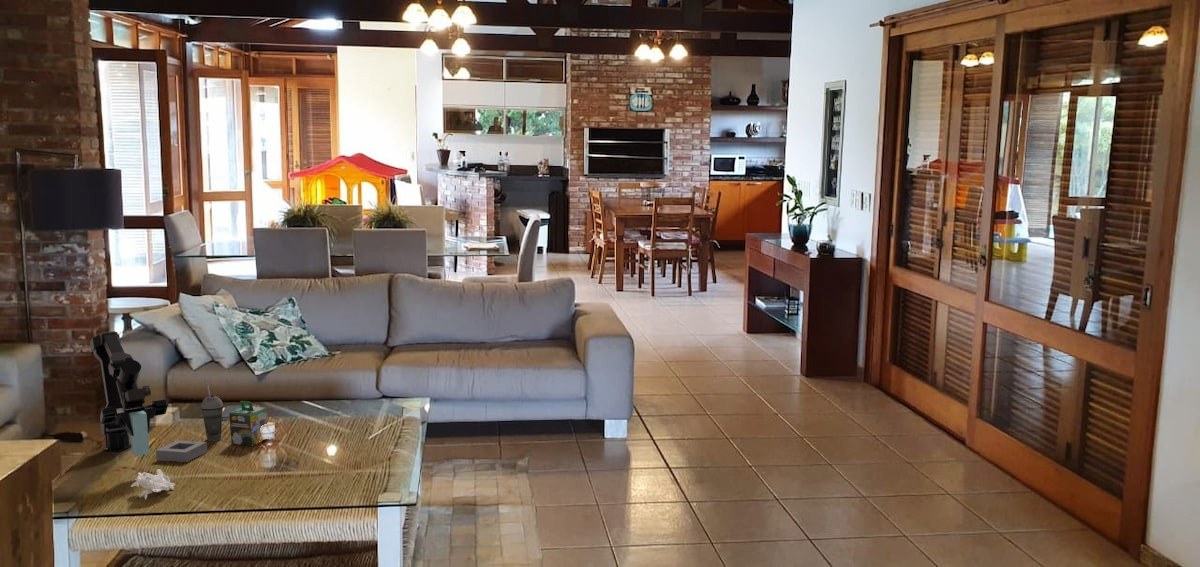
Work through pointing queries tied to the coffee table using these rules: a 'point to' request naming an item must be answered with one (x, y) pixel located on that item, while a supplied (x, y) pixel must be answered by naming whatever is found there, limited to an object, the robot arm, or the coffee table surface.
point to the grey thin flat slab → (232, 408)
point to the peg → (139, 433)
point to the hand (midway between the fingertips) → (140, 434)
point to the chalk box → (247, 424)
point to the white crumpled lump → (153, 482)
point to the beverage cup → (212, 416)
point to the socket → (181, 451)
